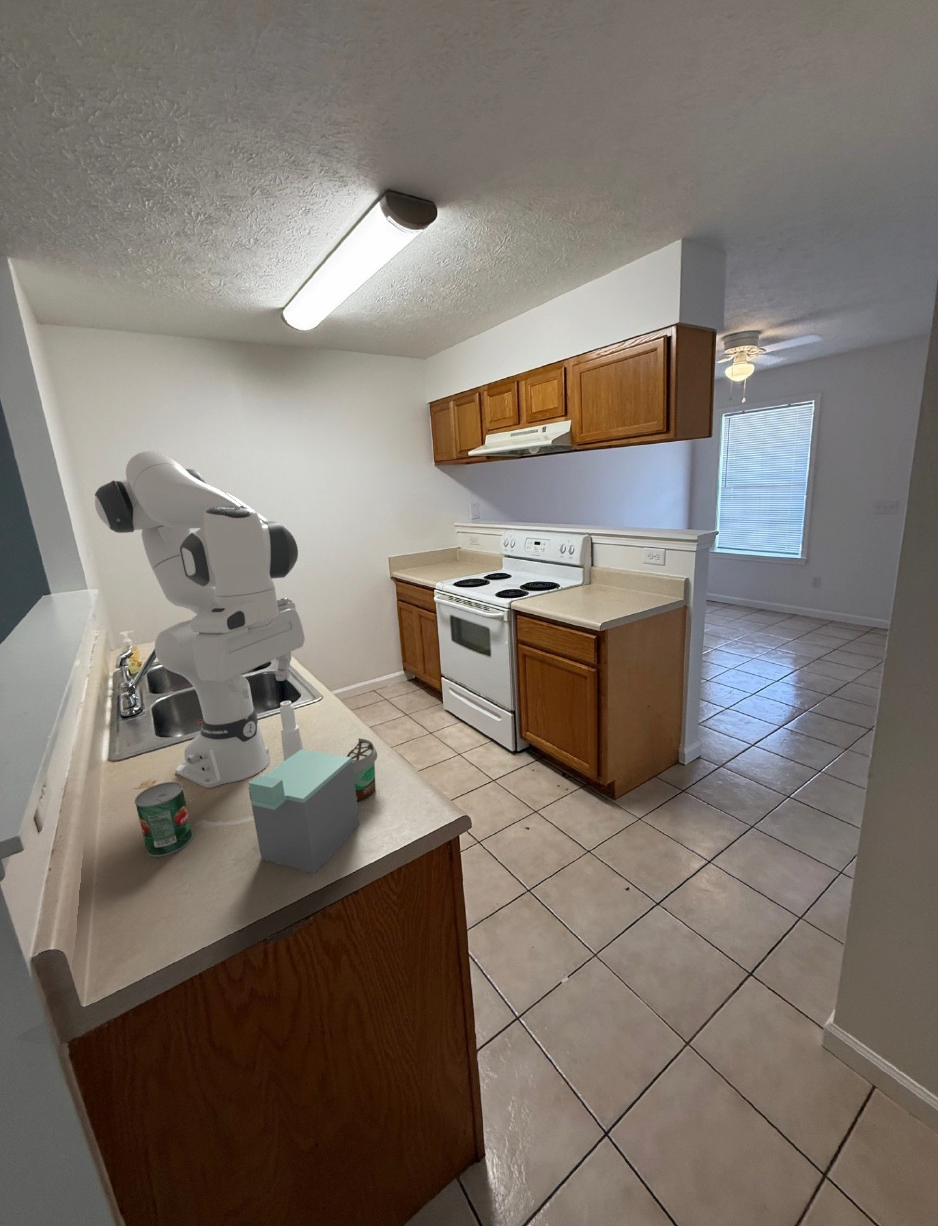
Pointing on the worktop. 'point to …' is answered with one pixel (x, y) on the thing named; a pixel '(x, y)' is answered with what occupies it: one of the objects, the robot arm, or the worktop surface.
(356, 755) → the food container
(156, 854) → the canned tomato
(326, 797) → the tub
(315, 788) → the lid
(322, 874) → the worktop surface
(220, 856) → the worktop surface
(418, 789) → the worktop surface
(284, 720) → the cosmetic bottle
